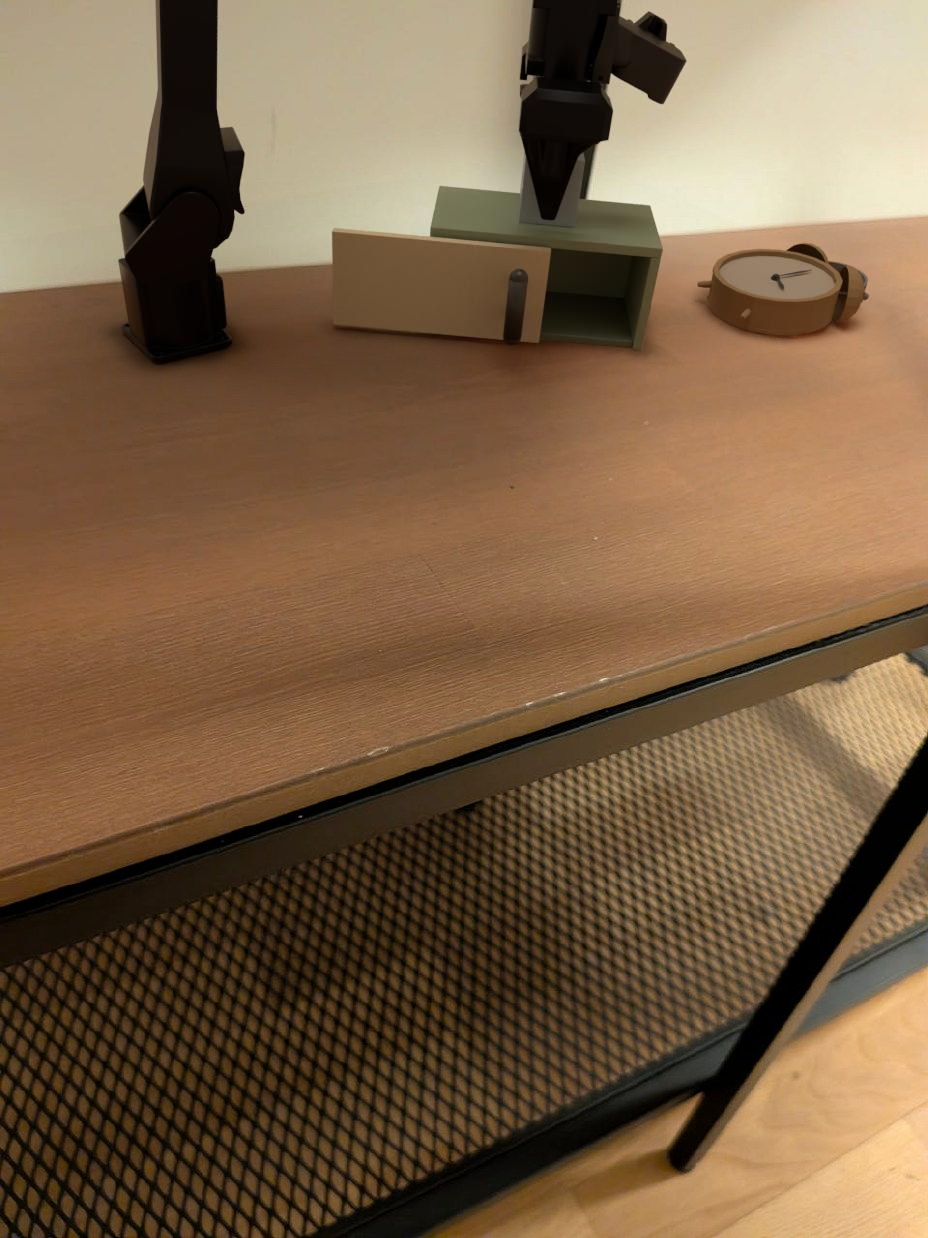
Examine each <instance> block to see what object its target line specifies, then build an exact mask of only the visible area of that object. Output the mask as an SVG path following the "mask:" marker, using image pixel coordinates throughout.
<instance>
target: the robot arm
mask: <svg viewBox="0 0 928 1238" xmlns="http://www.w3.org/2000/svg"><path fill="white" fill-rule="evenodd" d="M154 3H155V31H156V32H155V33H156V35H155V37H156V38H155V40H156V71H157V72H156V73H157V75H156V76H157V91H156V99H155V103H154V108H153V113H152V116H151V122H150V126H149V127H150V128H149V131H148V137H147V144H146V145H147V146H146V153H145V160H144V167H143V174H142V175H143V176H142V178H143V179H142V182H143V185H142V186H141V187H140V188H139V189H138V191H137V192H136V193H135V194H134V196H133V197H132V198H131V199H130V200H129V201H128V203H127V204H126V205H125V206H124V207H123V208H122V209H121V211H120V212H119V214H118V219H119V226H120V234H121V240H122V247H123V248H122V249H123V255H124V257H121V258H119V259H117V262H118V268H119V273H120V280H121V286H122V292H123V297H124V304H125V308H126V317H127V322H125V323H122V324H121V327H120V328H121V331H122V333H123V334H124V335H125V336H126V337H128V339H129V340H130V341H132V342H133V344H135V346H137V348H139V350H140V351H142V352H143V353H144V354H145V356H147V357H148V358H149V359H150V360H151V361H152V362H154V363H162V362H166V361H170V360H175V359H179V358H184V357H188V356H192V355H197V354H200V353H205V352H210V351H213V350H218V349H222V348H225V347H230V346H232V344H233V337H232V336H231V335H230V334H228V333H227V332H226V331H225V329H226V328H227V326H228V319H227V317H228V316H227V307H226V306H227V305H226V296H225V287H224V286H225V285H224V279H223V277H222V276H221V275H220V274H219V273H217V265H216V264H217V263H216V259H215V258H213V256H212V255H213V252H214V250H215V249H218V247H219V246H221V244H223V243H224V242H225V241H227V240H228V239H229V238H230V236H231V233H232V232H233V230H234V224H235V218H236V216H235V212H237V213H238V214H240V215H244V214H246V213H245V208H244V205H243V203H242V199H241V180H242V176H243V170H244V166H245V165H244V164H245V155H246V152H245V150H244V148H243V146H242V144H241V141H240V139H239V137H238V135H237V133H236V131H235V128H234V127H233V126H226V127H221V125H220V124H221V123H220V119H219V113H218V40H219V39H218V37H219V36H218V31H219V28H218V27H219V25H218V23H219V21H218V19H219V15H218V14H219V9H218V8H219V0H155V1H154ZM621 5H622V4H621V1H619V0H532V3H531V13H530V22H529V30H528V32H529V33H528V41H527V42H526V43H525V44H524V45H523V46H521V57H520V66H519V81H528V77H529V76H531V81H529V83H521V84H520V85H519V97H520V105H519V114H518V115H519V116H518V132H519V136H520V139H521V143H522V146H523V150H524V151H525V155H526V159H527V163H528V167H529V171H530V175H531V179H532V183H533V187H534V191H535V195H536V199H537V204H538V208H539V212H540V216H541V218H542V219H543V220H551V221H553V220H555V219H556V216H557V213H558V211H559V208H560V205H561V202H562V200H563V197H564V194H565V191H566V189H567V186H568V183H569V180H570V178H571V175H572V172H573V170H574V167H575V164H576V162H577V159H578V157H579V156H580V155H581V154H582V153H583V152H584V153H585V152H586V151H587V150H589V149H590V148H592V147H593V146H596V145H599V144H600V143H601V142H606V141H609V140H610V133H611V128H612V121H613V114H614V108H613V104H612V101H611V98H610V96H609V94H607V93H608V92H606V91H605V88H604V87H603V86H602V84H603V85H610V83H611V76H614V77H615V78H617V79H618V80H620V81H622V82H624V83H625V84H628V85H630V86H632V87H633V88H635V89H637V90H639V91H641V92H642V93H644V94H646V95H647V99H649V100H651V101H653V102H654V103H657V104H659V105H664V104H665V103H666V101H667V98H668V97H669V95H670V93H671V91H672V89H673V88H674V86H675V84H676V82H677V80H678V78H679V76H680V75H681V72H682V71H683V69H684V67H685V65H686V63H687V59H686V57H685V55H684V54H683V51H682V50H681V49H680V48H678V47H677V46H676V45H675V44H674V43H673V42H669V41H667V34H668V23H667V21H666V20H665V19H664V18H662V17H660V16H658V15H656V14H655V13H654V12H651V11H649V10H648V11H647V12H646V13H645V14H643V15H642V16H641V17H640V18H638V19H637V20H636V21H635V22H634V21H633V20H632V19H629V18H627V19H626V18H624V16H623V17H622V16H621V15H620V14H621ZM524 151H523V152H524Z"/></svg>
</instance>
